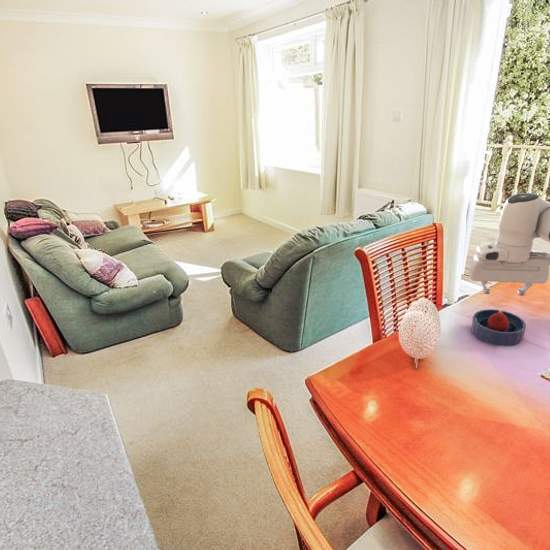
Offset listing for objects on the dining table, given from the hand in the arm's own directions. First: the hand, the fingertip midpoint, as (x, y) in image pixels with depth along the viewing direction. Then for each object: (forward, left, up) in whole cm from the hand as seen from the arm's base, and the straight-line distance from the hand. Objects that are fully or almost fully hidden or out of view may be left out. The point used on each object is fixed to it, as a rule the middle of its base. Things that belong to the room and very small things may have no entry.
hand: (503, 294), depth 113 cm
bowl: (0, 0, -14) cm, 14 cm away
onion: (0, 0, -14) cm, 14 cm away
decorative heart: (+25, +16, -15) cm, 33 cm away
